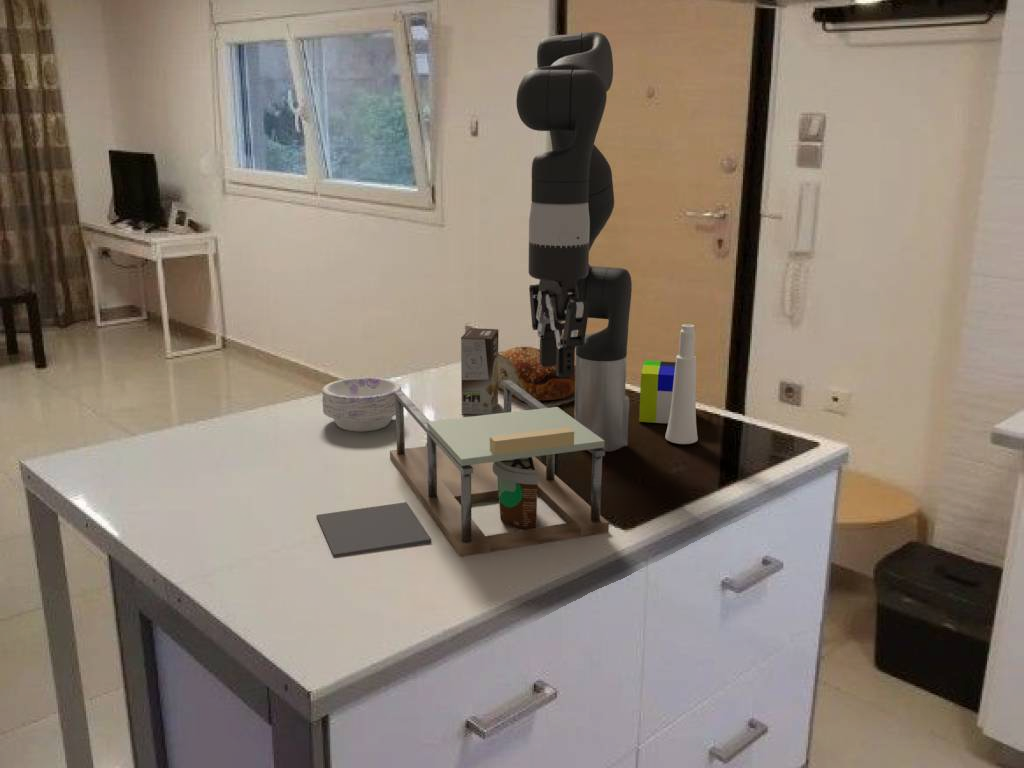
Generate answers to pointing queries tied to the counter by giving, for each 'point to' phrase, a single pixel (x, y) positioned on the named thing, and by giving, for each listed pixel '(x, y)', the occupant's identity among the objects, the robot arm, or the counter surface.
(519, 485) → the food container
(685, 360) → the cosmetic bottle
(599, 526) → the wooden base board
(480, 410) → the coffee box
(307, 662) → the counter surface
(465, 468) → the cover rails
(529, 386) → the bread
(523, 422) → the sliding cover
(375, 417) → the paper bowls
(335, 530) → the charcoal mat
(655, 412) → the puzzle toy
